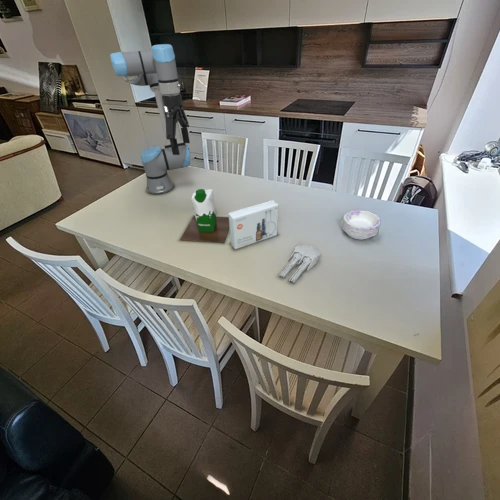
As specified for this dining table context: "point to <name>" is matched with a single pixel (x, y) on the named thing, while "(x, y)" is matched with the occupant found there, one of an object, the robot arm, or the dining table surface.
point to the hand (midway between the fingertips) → (181, 148)
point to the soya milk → (204, 209)
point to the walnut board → (215, 237)
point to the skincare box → (253, 224)
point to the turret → (301, 260)
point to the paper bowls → (361, 224)
